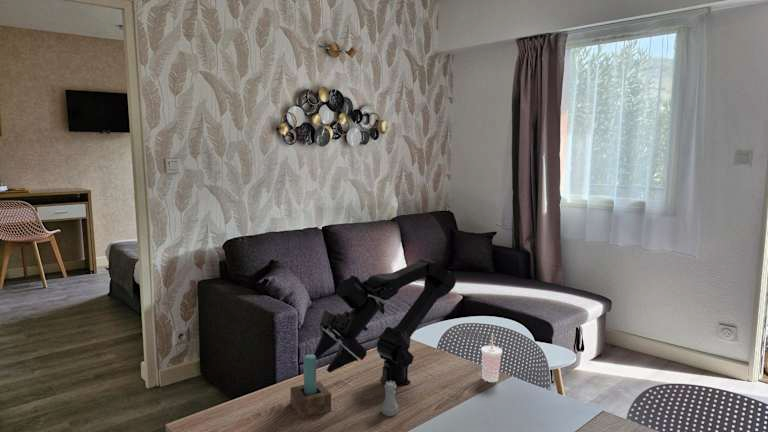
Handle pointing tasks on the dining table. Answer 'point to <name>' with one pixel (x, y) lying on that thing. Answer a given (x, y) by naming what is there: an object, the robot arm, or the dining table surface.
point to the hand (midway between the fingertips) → (321, 364)
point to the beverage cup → (491, 362)
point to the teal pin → (310, 375)
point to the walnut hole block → (310, 401)
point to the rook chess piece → (390, 400)
